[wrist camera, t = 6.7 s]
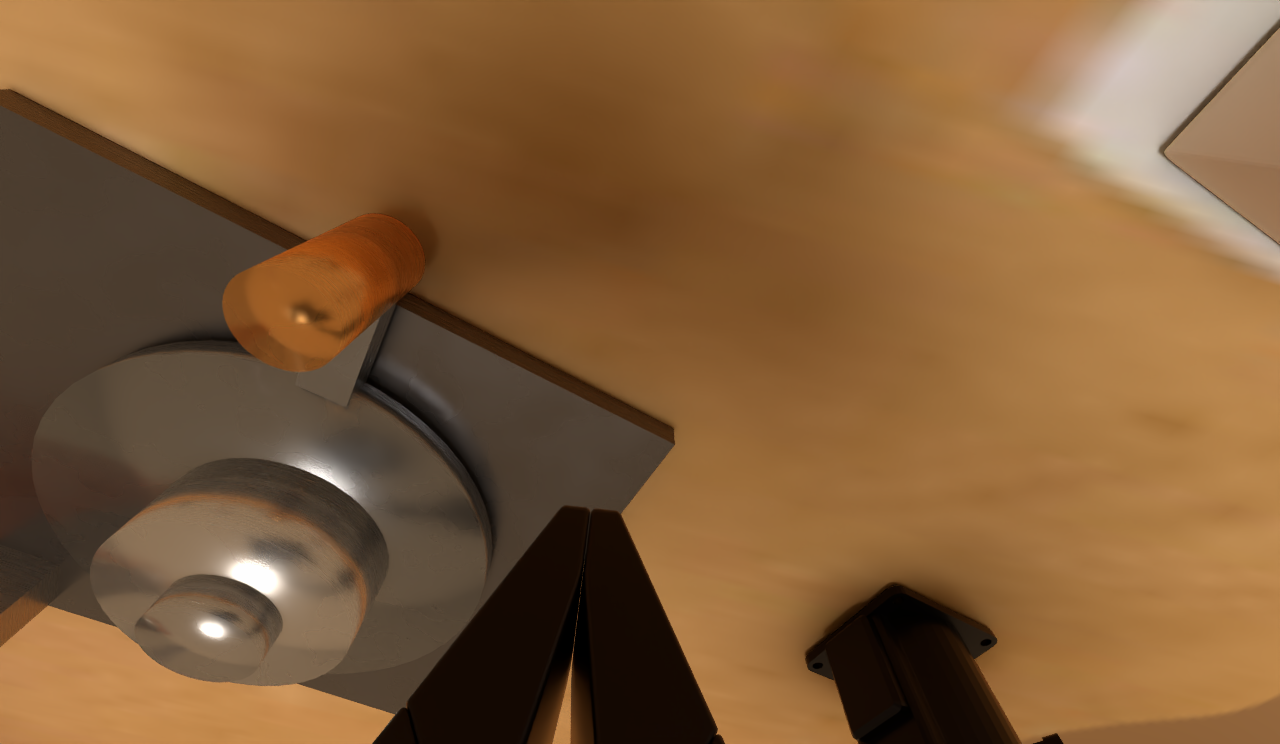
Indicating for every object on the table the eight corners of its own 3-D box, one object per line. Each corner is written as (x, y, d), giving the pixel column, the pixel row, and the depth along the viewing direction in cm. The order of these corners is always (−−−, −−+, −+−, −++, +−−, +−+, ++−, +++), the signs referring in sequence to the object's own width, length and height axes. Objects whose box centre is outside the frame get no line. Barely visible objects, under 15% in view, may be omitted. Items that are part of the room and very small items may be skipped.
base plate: (673, 428, 20) (674, 444, 19) (456, 712, 29) (450, 732, 28) (9, 89, 15) (-31, 89, 14) (-2, 563, 24) (-27, 581, 23)
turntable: (639, 347, 17) (636, 440, 13) (416, 691, 26) (369, 814, 22) (86, 55, 13) (-188, 42, 9) (49, 573, 22) (-95, 693, 18)
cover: (419, 517, 19) (365, 620, 16) (353, 637, 23) (296, 745, 19) (186, 420, 17) (62, 511, 14) (151, 566, 21) (44, 671, 17)
